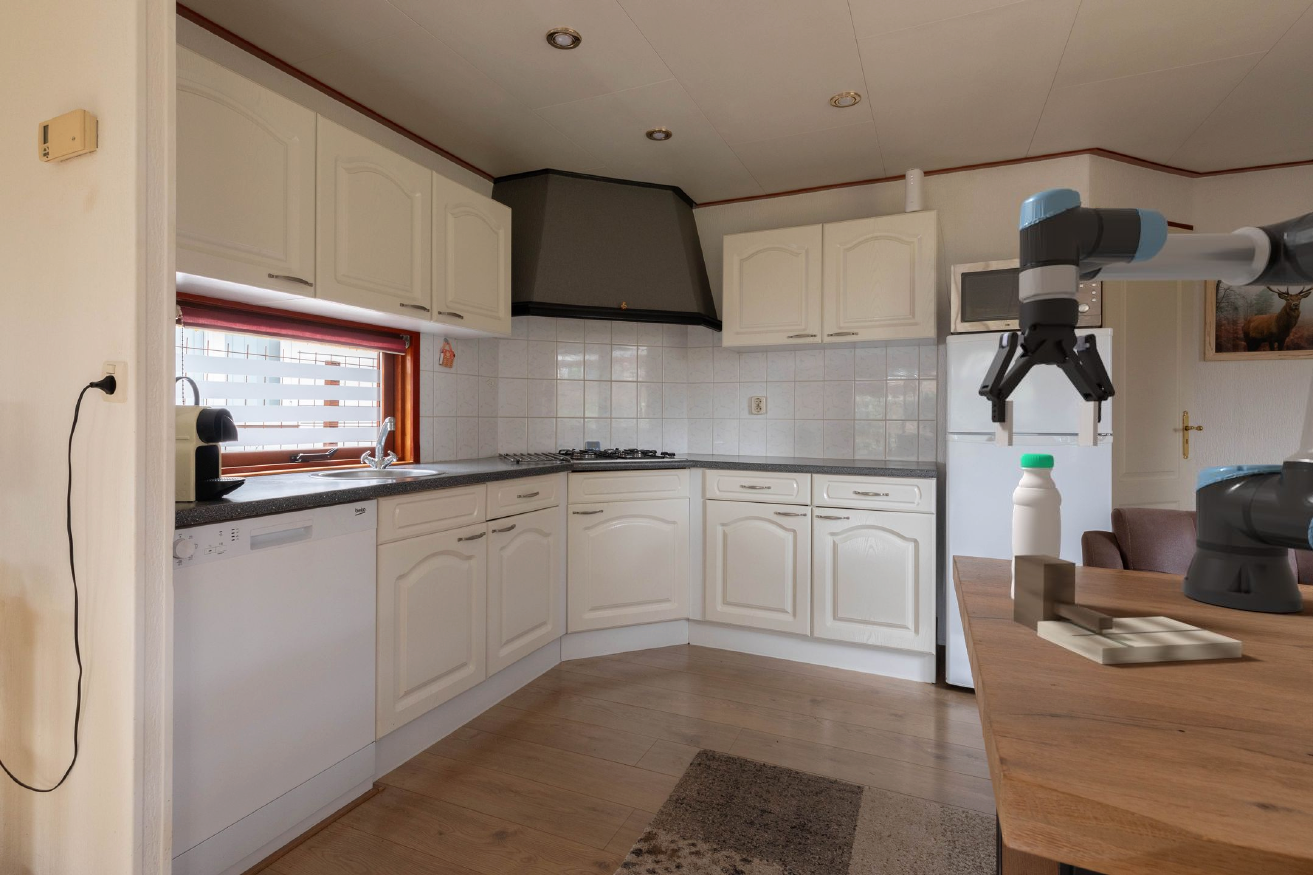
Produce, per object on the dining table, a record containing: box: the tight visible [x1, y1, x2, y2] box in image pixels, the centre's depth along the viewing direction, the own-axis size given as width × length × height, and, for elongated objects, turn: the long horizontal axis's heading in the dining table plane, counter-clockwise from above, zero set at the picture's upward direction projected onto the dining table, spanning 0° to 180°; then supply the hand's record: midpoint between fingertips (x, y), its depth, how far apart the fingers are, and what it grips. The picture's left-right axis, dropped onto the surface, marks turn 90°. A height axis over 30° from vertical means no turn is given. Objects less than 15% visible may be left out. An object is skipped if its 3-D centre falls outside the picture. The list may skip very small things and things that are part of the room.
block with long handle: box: [1013, 555, 1114, 633], centre depth 90 cm, size 5×14×10 cm, turn 8°
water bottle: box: [1010, 453, 1063, 601], centre depth 107 cm, size 7×7×25 cm
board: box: [1037, 616, 1243, 665], centre depth 86 cm, size 20×11×2 cm, turn 98°
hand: (1046, 446), depth 94 cm, fingers open, 13 cm apart
